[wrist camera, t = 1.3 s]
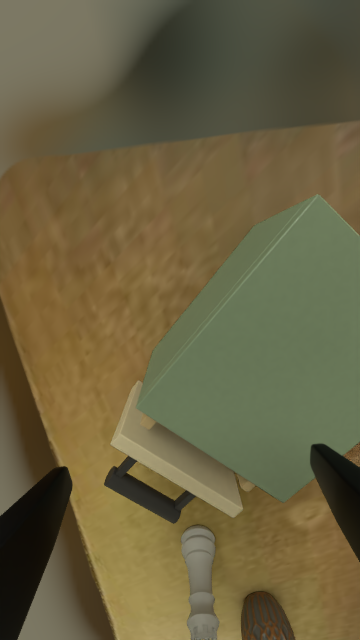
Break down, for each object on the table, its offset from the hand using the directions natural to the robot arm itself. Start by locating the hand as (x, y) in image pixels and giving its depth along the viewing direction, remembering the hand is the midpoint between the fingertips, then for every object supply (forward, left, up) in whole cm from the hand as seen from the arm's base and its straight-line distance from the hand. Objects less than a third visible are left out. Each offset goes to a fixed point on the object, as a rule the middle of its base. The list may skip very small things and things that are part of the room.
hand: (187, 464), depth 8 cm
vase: (-35, +26, -14) cm, 45 cm away
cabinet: (-5, -4, -13) cm, 15 cm away
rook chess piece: (-19, +21, -14) cm, 31 cm away
